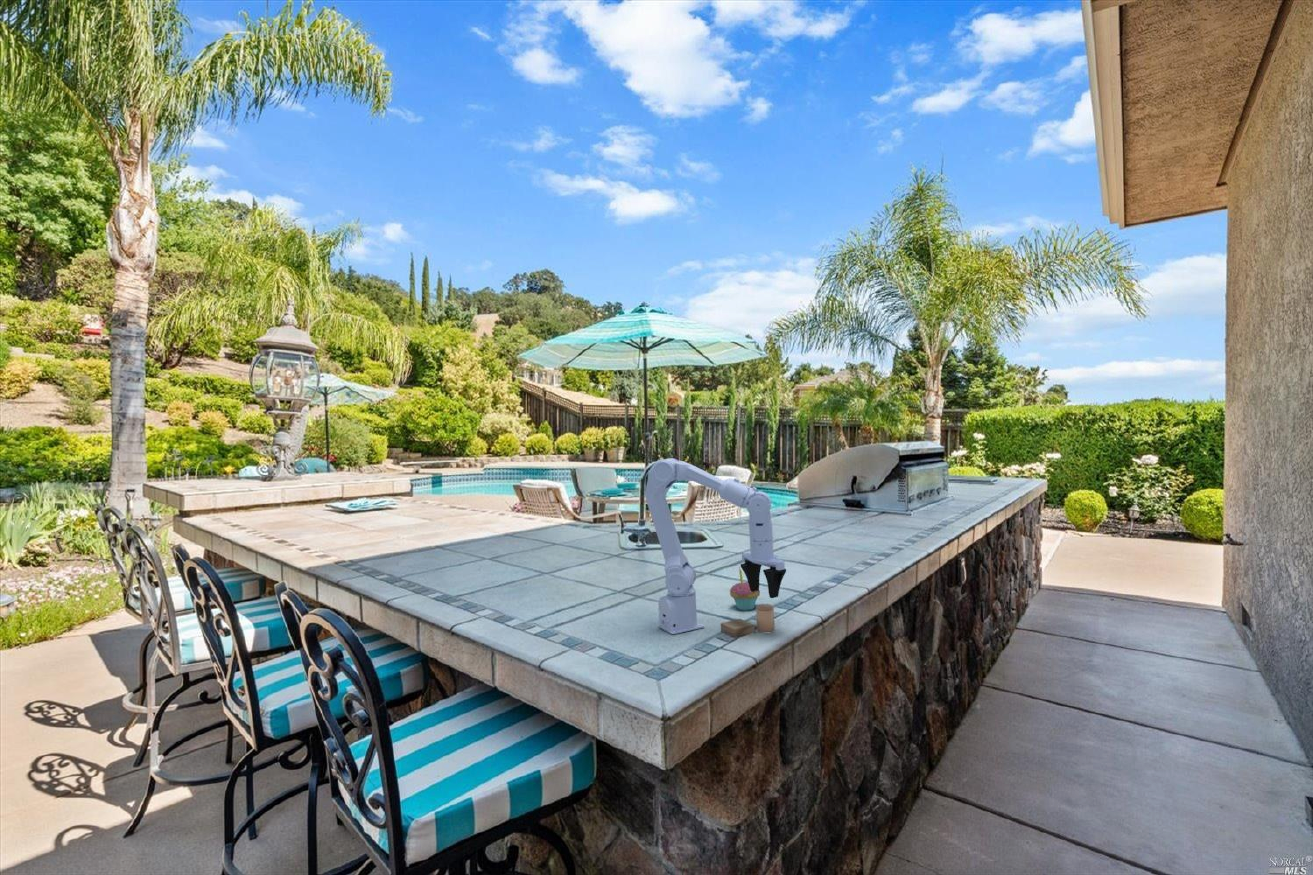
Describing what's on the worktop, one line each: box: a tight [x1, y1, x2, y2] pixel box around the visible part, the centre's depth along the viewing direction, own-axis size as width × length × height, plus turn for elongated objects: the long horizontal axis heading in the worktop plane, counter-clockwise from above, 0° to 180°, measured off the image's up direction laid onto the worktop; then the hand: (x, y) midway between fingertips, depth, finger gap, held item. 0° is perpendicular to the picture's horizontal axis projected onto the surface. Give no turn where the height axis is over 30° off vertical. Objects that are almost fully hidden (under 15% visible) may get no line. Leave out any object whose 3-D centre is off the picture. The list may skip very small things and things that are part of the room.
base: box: [720, 618, 756, 639], centre depth 144 cm, size 6×6×2 cm
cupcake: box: [729, 566, 761, 611], centre depth 164 cm, size 9×8×12 cm
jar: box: [755, 603, 776, 633], centre depth 144 cm, size 4×4×6 cm
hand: (764, 593), depth 144 cm, fingers open, 7 cm apart
